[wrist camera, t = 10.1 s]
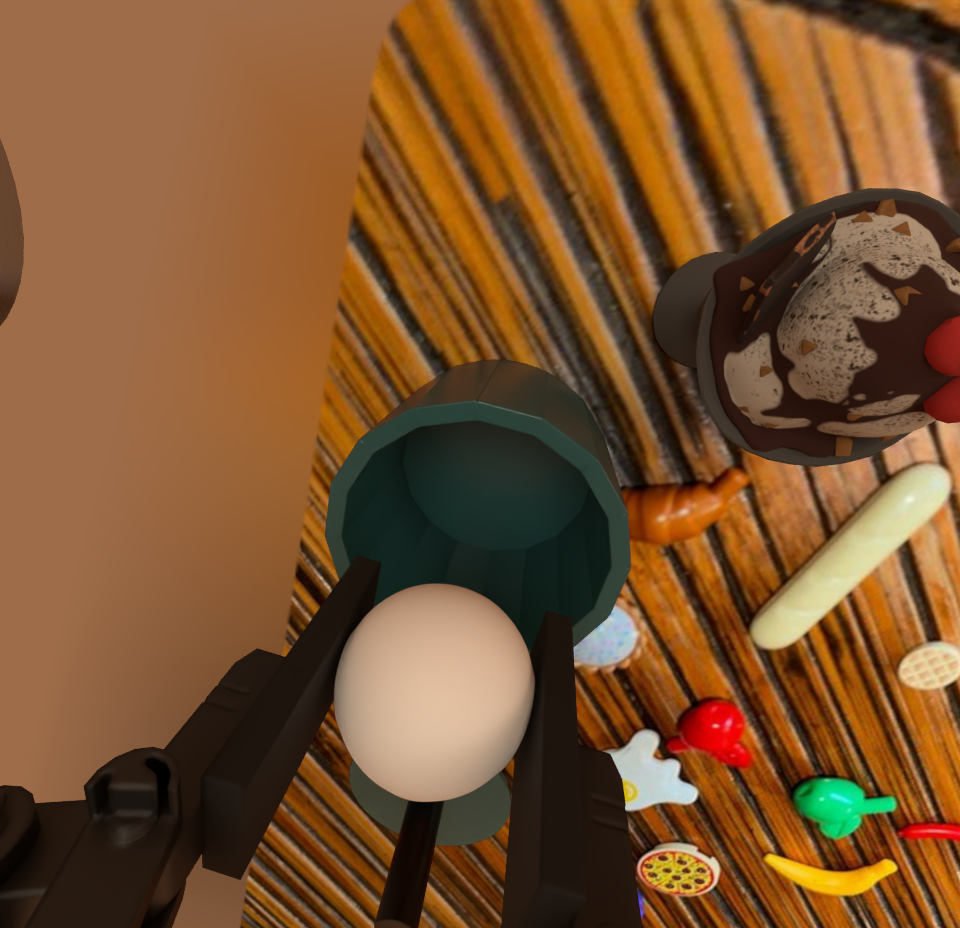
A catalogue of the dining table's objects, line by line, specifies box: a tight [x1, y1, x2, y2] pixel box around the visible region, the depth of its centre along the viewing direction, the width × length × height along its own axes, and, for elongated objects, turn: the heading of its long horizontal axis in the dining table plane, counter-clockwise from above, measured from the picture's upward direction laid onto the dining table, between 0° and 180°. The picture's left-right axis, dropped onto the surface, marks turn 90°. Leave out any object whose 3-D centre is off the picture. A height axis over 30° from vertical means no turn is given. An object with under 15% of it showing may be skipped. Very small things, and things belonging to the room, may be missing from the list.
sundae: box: [653, 188, 960, 467], centre depth 14 cm, size 7×7×15 cm
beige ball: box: [334, 584, 535, 802], centre depth 12 cm, size 5×5×5 cm
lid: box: [349, 759, 511, 928], centre depth 32 cm, size 12×12×9 cm
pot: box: [325, 359, 631, 655], centre depth 21 cm, size 11×11×8 cm
